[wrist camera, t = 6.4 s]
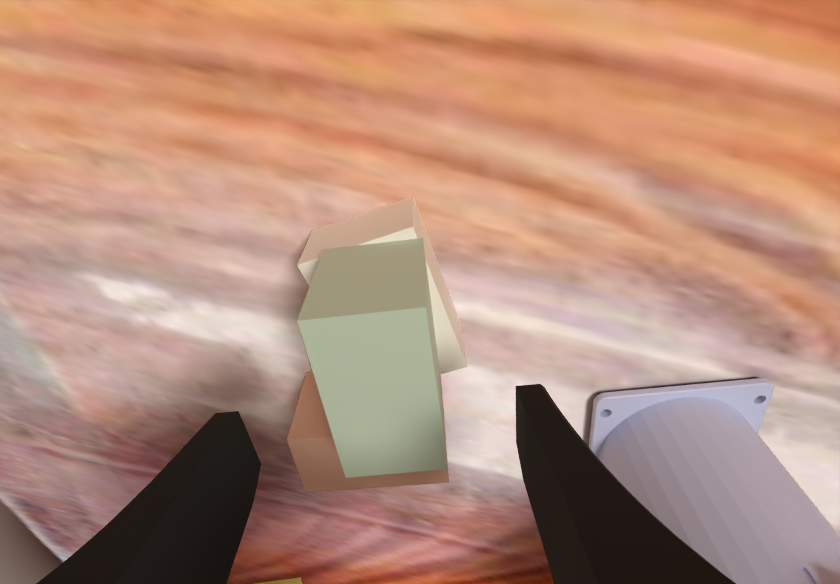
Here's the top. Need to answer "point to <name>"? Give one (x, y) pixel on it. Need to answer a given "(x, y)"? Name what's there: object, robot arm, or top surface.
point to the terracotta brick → (334, 451)
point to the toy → (284, 581)
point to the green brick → (376, 357)
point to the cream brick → (386, 227)
